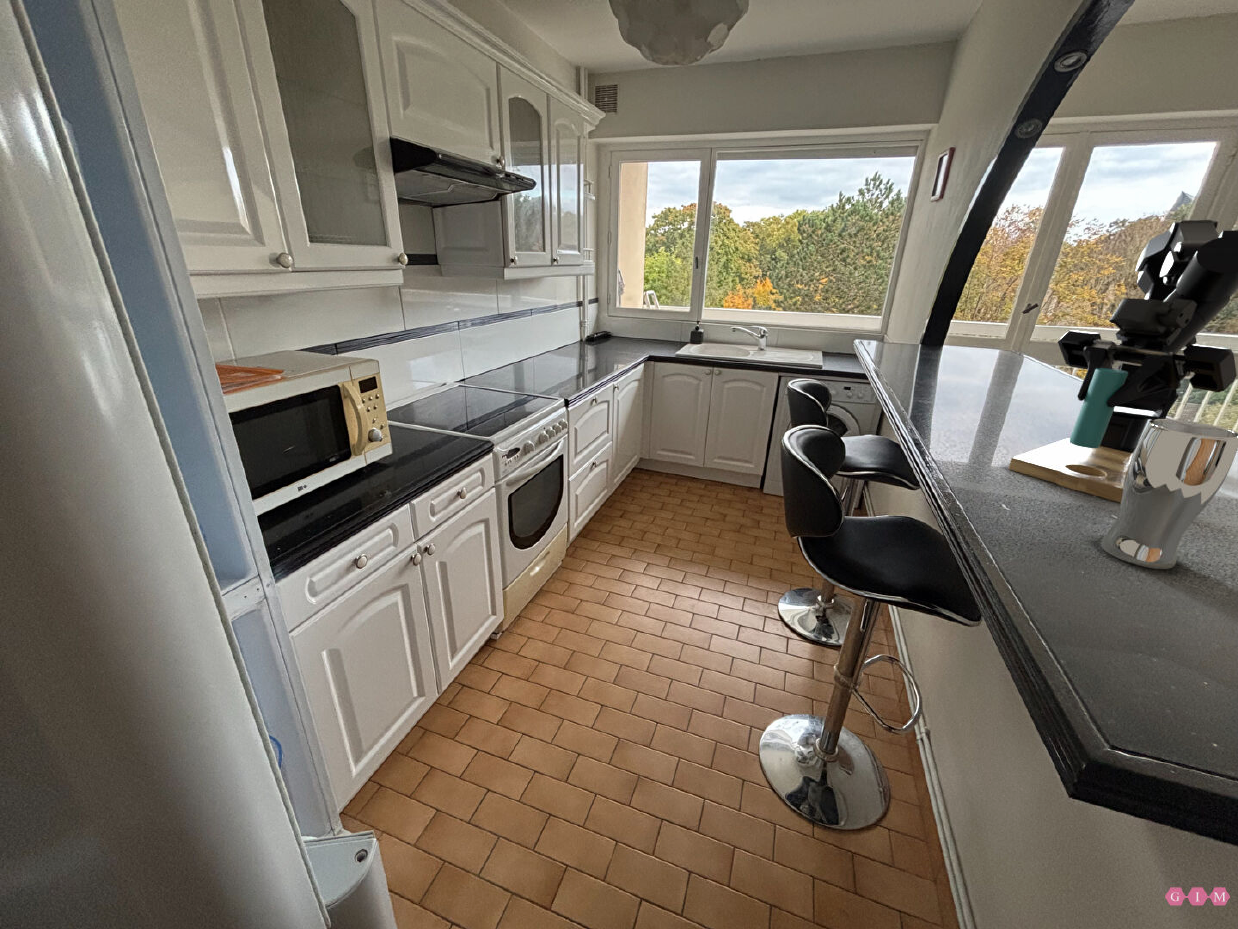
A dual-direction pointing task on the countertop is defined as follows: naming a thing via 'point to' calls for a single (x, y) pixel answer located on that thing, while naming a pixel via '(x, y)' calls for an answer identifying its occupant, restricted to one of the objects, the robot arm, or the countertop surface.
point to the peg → (1097, 408)
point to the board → (1077, 468)
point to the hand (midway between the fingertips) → (1093, 401)
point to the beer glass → (1168, 489)
